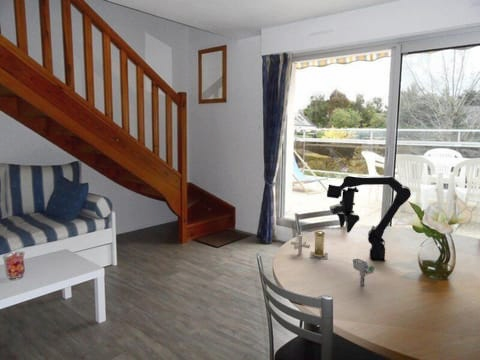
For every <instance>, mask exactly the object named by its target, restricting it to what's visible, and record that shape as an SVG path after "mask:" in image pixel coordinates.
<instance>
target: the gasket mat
mask: <svg viewBox="0 0 480 360" xmlns="http://www.w3.org/2000/svg"><path fill="white" fill-rule="evenodd" d="M313 252H314V251H310V255H309V259H314V258H315V260H316V259H317V260H329V258H328V257H329V253H328V252H324V253H325V257H315V256H313Z"/></svg>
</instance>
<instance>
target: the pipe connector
mask: <svg viewBox="0 0 480 360" xmlns="http://www.w3.org/2000/svg"><path fill="white" fill-rule="evenodd" d="M290 245H292V246H293V248H294V250H298V251H297V252H298V253H297V254H298V256H301V255H302V254H303V248H305V249H310V248H311V245H310V244H308V243H307V241H306V240H303V234H298V240H297V241H293V240H291V241H290Z"/></svg>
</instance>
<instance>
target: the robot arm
mask: <svg viewBox="0 0 480 360" xmlns="http://www.w3.org/2000/svg"><path fill="white" fill-rule="evenodd" d="M367 185H370V186H371V185H372V186H373V185H374V186H375V185H376V186H377V185H382V186H383V185H384V186H385V185H387V186H389V187H390V188H391V189H392V190H393V191H394V192H395V195H394V198H393V201H392V202H391V204H390V206H389V207H388V209H387V210H386V211H385V213H384V214H383V216H382V218H381V219H380V221H379V223H378V224H377V225H376V226H374V225H372V226H371V228H370V230H369V231H368V234H367V236H368V237H367V240H368V243H369V244H370V245H371V246H370V248H369V259H370V260H371V261H378V262H386V259H385V257H386V247H385V245H386V241H385V240H384V238H383V235H384V233H385V230H386V229H387V227H388V226H389V224H390V223H391V221H392V219H394V217H395V215H396V214H397V212H398V210H399V209H400V207H402V206H403V204H405V203H406V202H407V201H408V200H409V199H410V197H411V196H412V192H411V189H410V188H409V187H408V186H406V185H403V184H402V183H401V182H399V181H398V180H397V179H396V178H395V177H394V176H392V175H385V176H384V175H383V176H362V175H357V174H356V175H355V174H348V175H346V176H344V178H343V182H342V183H340V184H339V185H337V184H331V183H329V184H328V187H327V191H326V198H330V199H332V198H333V199H339V198H341V200H340V201H339V203H337V204H334V205H331V206H329V210H330V213H331V214H332V215H336V216H337V217H338V220H339V221H338V222H339V227H340V228H343V227H344V226H345V223H346V233H347V234H348V233H350V232H351V231H352V229H353V228H354V226H355V225H356V223H358V222H359V221H360V216H359V215H358V214H357V213H355V210H354V206H355V205H356V203H355V194H356V193H359V192H360V190H359V189H358V188H357V187H358V186H367Z"/></svg>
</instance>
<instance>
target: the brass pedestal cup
mask: <svg viewBox="0 0 480 360" xmlns="http://www.w3.org/2000/svg"><path fill="white" fill-rule="evenodd" d="M325 235H326V232H325V231H323V230H315V231H314V251H312V252H313V256H315V257H325V253H326V252H324V248H325Z"/></svg>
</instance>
